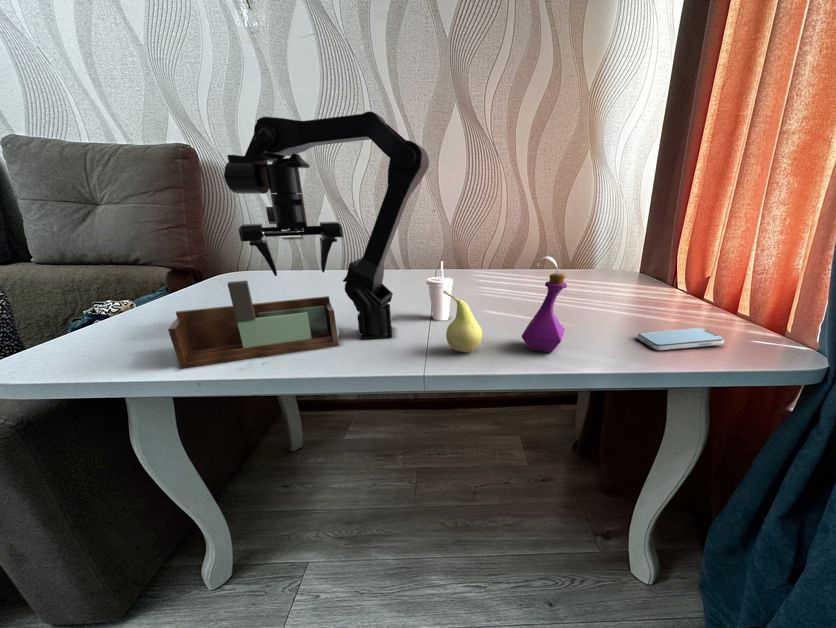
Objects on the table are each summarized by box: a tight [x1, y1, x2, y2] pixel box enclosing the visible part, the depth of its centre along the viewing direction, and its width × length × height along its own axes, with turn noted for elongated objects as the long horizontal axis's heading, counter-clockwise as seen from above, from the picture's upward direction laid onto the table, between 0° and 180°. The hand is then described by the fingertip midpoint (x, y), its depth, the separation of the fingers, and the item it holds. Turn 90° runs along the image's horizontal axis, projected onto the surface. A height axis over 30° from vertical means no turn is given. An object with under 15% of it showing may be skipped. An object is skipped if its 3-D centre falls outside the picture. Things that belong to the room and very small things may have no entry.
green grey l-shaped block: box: [227, 280, 312, 348], centre depth 71 cm, size 12×2×13 cm, turn 115°
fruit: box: [443, 290, 483, 353], centre depth 72 cm, size 7×8×12 cm
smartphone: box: [637, 327, 725, 351], centre depth 78 cm, size 8×2×15 cm
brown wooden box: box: [167, 295, 340, 370], centre depth 73 cm, size 27×8×8 cm, turn 115°
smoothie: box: [425, 260, 454, 321], centre depth 91 cm, size 6×6×14 cm
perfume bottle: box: [521, 255, 568, 354], centre depth 72 cm, size 8×8×18 cm
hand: (300, 273), depth 80 cm, fingers open, 9 cm apart
